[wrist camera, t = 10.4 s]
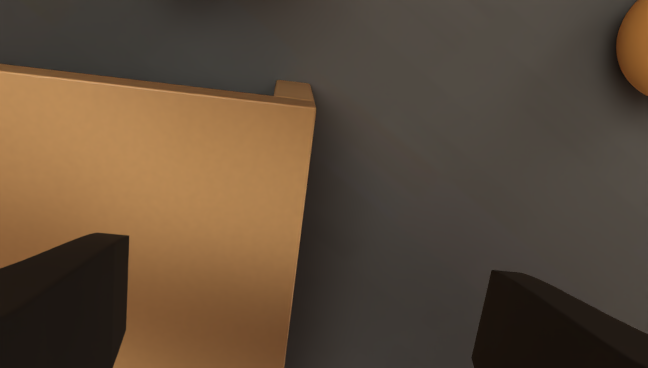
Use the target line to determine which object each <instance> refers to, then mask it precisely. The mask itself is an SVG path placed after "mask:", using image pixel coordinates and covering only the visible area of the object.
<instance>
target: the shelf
mask: <svg viewBox="0 0 648 368" xmlns="http://www.w3.org/2000/svg"><path fill="white" fill-rule="evenodd" d="M315 117H316V106H315V102H314V98H313V94H312V90H311V86H310V84H308V83H300V82H292V81H284V80H277V81H276V85H275V91H274V96H268V95H260V94H251V93H243V92H234V91H226V90H217V89H209V88H201V87H192V86H184V85H175V84H167V83H158V82H150V81H142V80H133V79H125V78H116V77H108V76H99V75H91V74H83V73H74V72H66V71H57V70H49V69H40V68H32V67H23V66H15V65H7V64H0V268H3V267H6V266H8V265H11V264H14V263H17V262H19V261H22V260H25V259H27V258H30V257H32V256H35V255H37V254H40V253H42V252H44V251H47V250H49V249H52V248H54V247H57V246H59V245H62V244H64V243H67V242H69V241H72V240H74V239H77V238H79V237H82V236H85V235H88V234H92V233H97V232H98V233H108V234H119V235H129V262H128V290H127V319H126V332H125V335H124V337H123V340H122V343H121V346H120V349H119V352H118V355H117V358H116V360H115V363H114V366H113V368H284V366H285V358H286V350H287V341H288V333H289V325H290V317H291V309H292V301H293V293H294V285H295V277H296V269H297V261H298V253H299V245H300V237H301V229H302V221H303V213H304V205H305V197H306V189H307V181H308V173H309V165H310V157H311V149H312V141H313V133H314V125H315Z"/></svg>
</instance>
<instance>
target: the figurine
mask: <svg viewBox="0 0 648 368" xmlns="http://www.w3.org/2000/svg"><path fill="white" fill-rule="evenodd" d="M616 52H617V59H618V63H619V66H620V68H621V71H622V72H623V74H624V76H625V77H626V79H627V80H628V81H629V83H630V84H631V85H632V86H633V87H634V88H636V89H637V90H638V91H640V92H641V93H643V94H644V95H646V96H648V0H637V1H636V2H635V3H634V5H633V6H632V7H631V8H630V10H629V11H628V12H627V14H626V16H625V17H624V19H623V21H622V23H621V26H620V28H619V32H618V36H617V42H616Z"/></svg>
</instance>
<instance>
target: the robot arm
mask: <svg viewBox="0 0 648 368" xmlns="http://www.w3.org/2000/svg"><path fill="white" fill-rule="evenodd" d="M128 262H129V235H119V234H108V233H98V232H97V233H92V234H88V235H85V236H82V237H79V238H77V239H74V240H72V241H69V242H67V243H64V244H62V245H59V246H57V247H54V248H52V249H49V250H47V251H44V252H42V253H40V254H37V255H35V256H32V257H30V258H27V259H25V260H22V261H19V262H17V263H14V264H11V265H8V266H6V267H3V268H0V368H113V366H114V363H115V360H116V358H117V355H118V352H119V349H120V346H121V343H122V340H123V337H124V335H125V332H126V319H127V290H128ZM472 361H473V365H474V368H648V334H646V333H644V332H642V331H640V330H638V329H636V328H633V327H631V326H629V325H627V324H625V323H623V322H621V321H619V320H617V319H615V318H613V317H611V316H609V315H607V314H605V313H604V312H602V311H600V310H598V309H596V308H594V307H592V306H590V305H588V304H586V303H584V302H583V301H581V300H579V299H577V298H575V297H573V296H571V295H569V294H567V293H565V292H563V291H562V290H560V289H558V288H556V287H554V286H552V285H550V284H548V283H545V282H543V281H541V280H539V279H537V278H534V277H532V276H529V275H526V274H523V273H518V272H507V271H497V270H492V271H491V275H490V280H489V284H488V288H487V293H486V297H485V301H484V306H483V310H482V314H481V319H480V323H479V327H478V332H477V336H476V341H475V345H474V349H473V354H472Z"/></svg>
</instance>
